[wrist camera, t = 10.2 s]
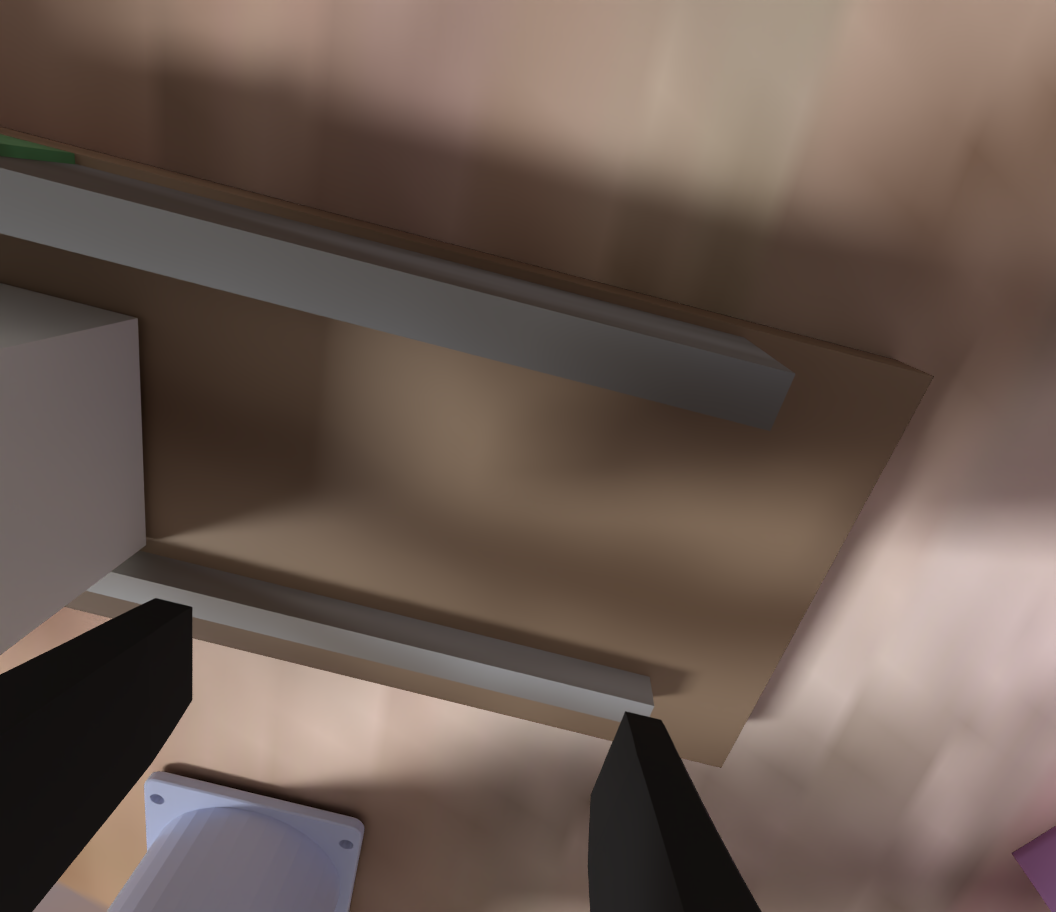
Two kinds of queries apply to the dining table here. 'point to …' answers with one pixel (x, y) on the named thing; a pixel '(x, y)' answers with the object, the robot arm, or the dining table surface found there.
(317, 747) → the dining table surface
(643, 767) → the robot arm
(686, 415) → the gauge base
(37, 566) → the gauge slider
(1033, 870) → the purple box
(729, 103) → the dining table surface
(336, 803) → the dining table surface
